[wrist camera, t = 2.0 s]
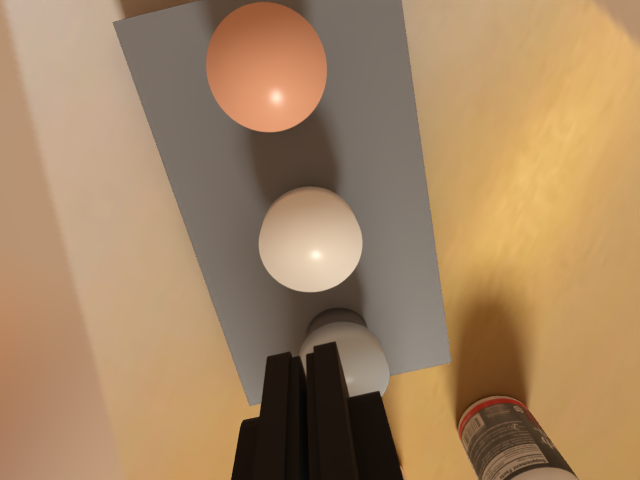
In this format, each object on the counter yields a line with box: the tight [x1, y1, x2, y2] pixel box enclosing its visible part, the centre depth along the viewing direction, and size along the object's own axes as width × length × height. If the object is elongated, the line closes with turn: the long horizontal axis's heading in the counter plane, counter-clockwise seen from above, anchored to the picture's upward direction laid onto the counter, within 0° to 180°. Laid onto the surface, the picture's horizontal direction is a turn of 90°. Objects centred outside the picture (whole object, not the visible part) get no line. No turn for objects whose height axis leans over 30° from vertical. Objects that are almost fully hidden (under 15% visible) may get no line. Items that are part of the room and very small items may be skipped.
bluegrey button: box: [299, 322, 390, 397], centre depth 23 cm, size 5×5×2 cm
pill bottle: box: [458, 396, 579, 480], centre depth 28 cm, size 6×6×10 cm
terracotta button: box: [206, 2, 327, 132], centre depth 18 cm, size 5×5×2 cm
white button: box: [259, 186, 362, 292], centre depth 21 cm, size 5×5×2 cm
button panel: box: [113, 0, 451, 406], centre depth 24 cm, size 14×24×3 cm, turn 13°
